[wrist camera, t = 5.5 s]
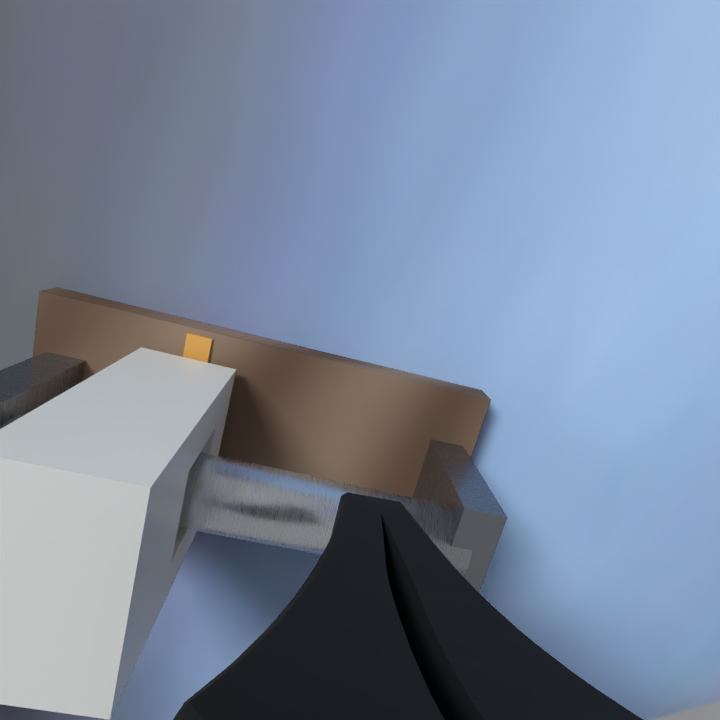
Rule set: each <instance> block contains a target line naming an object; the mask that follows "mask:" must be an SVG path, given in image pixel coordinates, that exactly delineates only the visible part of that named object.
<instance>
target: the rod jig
mask: <svg viewBox="0 0 720 720" xmlns="http://www.w3.org/2000/svg"><path fill="white" fill-rule="evenodd" d="M141 347H142V348H147V349H151V350H155V351H160V352H164V353H168V354H172V355H177V356H181V357H185V358H190V359H194V360H198V361H203V362H207V363H211V364H215V365H220V366H224V367H228V368H233V369H236V373H235V378H234V383H233V388H232V392H231V397H230V402H229V407H228V412H227V416H226V421H225V426H224V431H223V436H222V440H221V445H220V450H219V455H218V456H216V455H211V454H206V453H202V452H200V454H199V455H198V457H197V459H196V460H195V462H194V464H193V465H192V467H191V468H190V470H189V474H188V479H187V484H186V489H185V495H184V500H183V505H182V510H181V515H180V520H179V525H178V528H184V529H189V530H194V531H199V532H205V533H210V534H215V535H220V536H226V537H231V538H236V539H241V540H246V541H252V542H257V543H262V544H267V545H273V546H278V547H283V548H288V549H294V550H299V551H304V552H309V553H314V554H320V555H322V554H323V552H324V550H325V548H326V546H327V545H328V543H329V540H330V538H331V535H332V530H333V526H334V522H335V518H336V514H337V510H338V506H339V502H340V498H341V496H342V495H343V494H345V493H347V492H349V493H354V494H360V495H365V496H371V497H377V498H382V499H388V500H393V501H399V502H401V503H402V504H403V506H404V507H405V508H406V509H407V510H408V512H409V513H410V514H411V515H412V517H413V518H414V519H415V520H416V522H417V523H418V524H419V525H420V527H421V528H422V529H423V530H424V532H425V533H426V534H427V535H428V537H429V538H430V539H431V540H432V541H433V543H434V544H435V545H436V546H437V547H438V549H439V550H440V551H441V552H442V553H443V555H444V556H445V557H446V558H447V559H448V560H449V561H450V563H451V564H452V565H453V566H454V567H455V568H456V569H457V570H458V572H459V573H460V574H461V575H462V576H463V577H464V578H465V579H466V580H467V581H468V582H469V583H470V584H471V585H472V586H473V587H474V588H475V589H476V590H477V592H478V593H479V590H480V588H481V585H482V582H483V580H484V577H485V574H486V572H487V569H488V567H489V564H490V561H491V559H492V556H493V554H494V551H495V548H496V546H497V543H498V540H499V538H500V535H501V533H502V530H503V527H504V525H505V522H506V519H507V516H506V515H505V513H504V511H503V510H502V508H501V507H500V505H499V503H498V502H497V500H496V499H495V497H494V495H493V494H492V492H491V490H490V489H489V487H488V486H487V484H486V482H485V481H484V479H483V478H482V476H481V474H480V473H479V471H478V469H477V468H476V466H475V465H474V463H473V461H472V460H471V455H472V452H473V449H474V446H475V443H476V440H477V438H478V435H479V432H480V429H481V426H482V423H483V420H484V417H485V415H486V412H487V409H488V406H489V403H490V400H491V399H490V398H489V397H488V396H487V395H486V394H485V393H484V392H483V391H482V390H478V389H474V388H469V387H465V386H461V385H457V384H453V383H449V382H445V381H441V380H437V379H432V378H428V377H424V376H420V375H416V374H412V373H408V372H404V371H399V370H395V369H391V368H387V367H383V366H379V365H375V364H371V363H366V362H362V361H358V360H354V359H350V358H346V357H342V356H338V355H334V354H329V353H325V352H321V351H317V350H313V349H309V348H305V347H301V346H296V345H292V344H288V343H284V342H280V341H276V340H272V339H268V338H263V337H259V336H255V335H251V334H247V333H243V332H239V331H235V330H230V329H226V328H222V327H218V326H214V325H210V324H206V323H202V322H198V321H193V320H189V319H185V318H181V317H177V316H173V315H169V314H165V313H160V312H156V311H152V310H148V309H144V308H140V307H136V306H132V305H127V304H123V303H119V302H115V301H111V300H107V299H103V298H99V297H95V296H90V295H86V294H82V293H78V292H74V291H70V290H66V289H62V288H53V289H47V290H42V291H39V300H38V310H37V320H36V330H35V340H34V350H33V357H32V358H30V359H27V360H25V361H23V362H20V363H18V364H15V365H13V366H10V367H8V368H5V369H3V370H0V429H1V428H3V427H5V426H6V425H8V424H10V423H12V422H13V421H15V420H17V419H19V418H20V417H22V416H24V415H25V414H27V413H29V412H31V411H32V410H34V409H36V408H38V407H39V406H41V405H43V404H44V403H46V402H48V401H50V400H51V399H53V398H55V397H56V396H58V395H60V394H62V393H63V392H65V391H67V390H69V389H70V388H72V387H74V386H75V385H77V384H79V383H81V382H82V381H84V380H86V379H88V378H89V377H91V376H93V375H94V374H96V373H98V372H100V371H101V370H103V369H105V368H106V367H108V366H110V365H112V364H113V363H115V362H117V361H119V360H120V359H122V358H124V357H125V356H127V355H129V354H131V353H132V352H134V351H136V350H138V349H139V348H141Z"/></svg>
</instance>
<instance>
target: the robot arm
mask: <svg viewBox="0 0 720 720" xmlns="http://www.w3.org/2000/svg"><path fill="white" fill-rule="evenodd" d="M173 720H643V719H641V718H640V717H638V716H636V715H635V714H633V713H632V712H630V711H629V710H627V709H626V708H624V707H623V706H621V705H620V704H618V703H617V702H615V701H614V700H612V699H611V698H609V697H608V696H606V695H605V694H603V693H601V692H600V691H598V690H597V689H596V688H594V687H593V686H591V685H590V684H588V683H587V682H586V681H584V680H583V679H581V678H580V677H579V676H577V675H576V674H574V673H573V672H572V671H570V670H569V669H568V668H566V667H565V666H564V665H562V664H561V663H560V662H558V661H557V660H556V659H555V658H553V657H552V656H551V655H549V654H548V653H547V652H545V651H544V650H543V649H542V648H540V647H539V646H538V645H536V644H535V643H534V642H533V641H532V640H530V639H529V638H528V637H527V636H525V635H524V634H523V633H522V632H521V631H520V630H518V629H517V628H516V627H515V626H514V625H513V624H512V623H511V622H509V621H508V620H507V619H506V618H505V617H504V616H503V615H502V614H501V613H499V612H498V611H497V610H496V609H495V608H494V607H493V606H492V605H491V604H490V603H489V602H488V601H487V600H486V599H484V598H483V597H482V596H481V595H480V594H479V593H478V592H477V590H476V589H475V588H474V587H473V586H472V585H471V584H470V583H469V582H468V581H467V580H466V579H465V578H464V577H463V576H462V575H461V574H460V573H459V572H458V570H457V569H456V568H455V567H454V566H453V565H452V564H451V563H450V561H449V560H448V559H447V558H446V557H445V556H444V555H443V553H442V552H441V551H440V550H439V549H438V547H437V546H436V545H435V544H434V543H433V541H432V540H431V539H430V538H429V537H428V535H427V534H426V533H425V532H424V530H423V529H422V528H421V527H420V525H419V524H418V523H417V522H416V520H415V519H414V518H413V517H412V515H411V514H410V513H409V512H408V510H407V509H406V508H405V507H404V506H403V504H402V503H401V502H399V501H393V500H388V499H382V498H377V497H371V496H365V495H360V494H354V493H349V492H347V493H345V494H343V495H342V496H341V498H340V502H339V506H338V510H337V514H336V518H335V522H334V526H333V530H332V535H331V538H330V540H329V543H328V545H327V546H326V548H325V550H324V552H323V554H322V555H321V557H320V559H319V561H318V562H317V564H316V566H315V568H314V569H313V571H312V572H311V574H310V575H309V577H308V578H307V580H306V581H305V583H304V584H303V586H302V587H301V588H300V590H299V591H298V593H297V594H296V595H295V597H294V598H293V599H292V600H291V602H290V603H289V604H288V605H287V606H286V608H285V609H284V610H283V611H282V613H281V614H280V615H279V616H278V617H277V619H276V620H275V621H274V622H273V623H272V624H271V625H270V626H269V627H268V629H267V630H266V631H265V632H264V633H263V634H262V635H261V636H260V637H259V638H258V639H257V640H256V641H255V642H254V643H253V644H252V645H251V646H250V647H248V648H247V649H246V650H245V651H244V652H243V653H242V654H241V655H240V656H239V657H238V658H237V659H236V660H235V661H234V662H233V663H232V664H231V665H230V666H228V667H227V668H226V669H225V670H224V671H222V672H221V673H220V674H219V675H218V676H216V677H215V678H214V679H213V680H211V681H210V682H209V683H208V684H207V685H205V686H204V687H203V688H202V689H200V690H199V691H198V692H197V693H195V694H194V695H193V696H192V697H191V698H189V699H188V700H187V701H186V702H185V703H184V704H183V706H182V707H181V709H180V710H179V712H178V713H177V715H176V716H175V718H174V719H173Z"/></svg>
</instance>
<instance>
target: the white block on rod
mask: <svg viewBox="0 0 720 720" xmlns="http://www.w3.org/2000/svg"><path fill="white" fill-rule="evenodd" d="M235 373H236V369H233V368H228V367H224V366H220V365H215V364H211V363H207V362H203V361H198V360H194V359H190V358H185V357H181V356H177V355H172V354H168V353H164V352H160V351H155V350H151V349H147V348H142V347H141V348H139V349H138V350H136V351H134V352H132V353H131V354H129V355H127V356H125V357H124V358H122V359H120V360H119V361H117V362H115V363H113V364H112V365H110V366H108V367H106V368H105V369H103V370H101V371H100V372H98V373H96V374H94V375H93V376H91V377H89V378H88V379H86V380H84V381H82V382H81V383H79V384H77V385H75V386H74V387H72V388H70V389H69V390H67V391H65V392H63V393H62V394H60V395H58V396H56V397H55V398H53V399H51V400H50V401H48V402H46V403H44V404H43V405H41V406H39V407H38V408H36V409H34V410H32V411H31V412H29V413H27V414H25V415H24V416H22V417H20V418H19V419H17V420H15V421H13V422H12V423H10V424H8V425H6V426H5V427H3V428H1V429H0V704H2V705H9V706H16V707H23V708H31V709H38V710H45V711H52V712H59V713H66V714H73V715H80V716H87V717H94V718H101V719H108V720H110V719H111V716H112V714H113V712H114V710H115V708H116V706H117V703H118V701H119V699H120V697H121V695H122V693H123V690H124V688H125V686H126V684H127V682H128V680H129V677H130V675H131V673H132V671H133V669H134V667H135V664H136V662H137V660H138V658H139V656H140V654H141V651H142V649H143V647H144V645H145V643H146V641H147V638H148V636H149V634H150V632H151V630H152V627H153V625H154V623H155V621H156V619H157V617H158V614H159V612H160V610H161V608H162V606H163V604H164V601H165V599H166V597H167V595H168V593H169V591H170V588H171V586H172V584H173V582H174V580H175V578H176V575H177V573H178V571H179V569H180V567H181V565H182V562H183V560H184V558H185V556H186V554H187V552H188V549H189V547H190V545H191V543H192V541H193V539H194V536H195V534H196V532H197V531H194V530H189V529H184V528H178V525H179V520H180V515H181V510H182V505H183V500H184V495H185V489H186V484H187V479H188V474H189V470H190V468H191V467H192V465H193V464H194V462H195V460H196V459H197V457H198V455H199V454H200V452H202V453H206V454H211V455H216V456H218V455H219V450H220V445H221V440H222V436H223V431H224V426H225V421H226V416H227V412H228V407H229V402H230V397H231V392H232V388H233V383H234V378H235Z"/></svg>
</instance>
